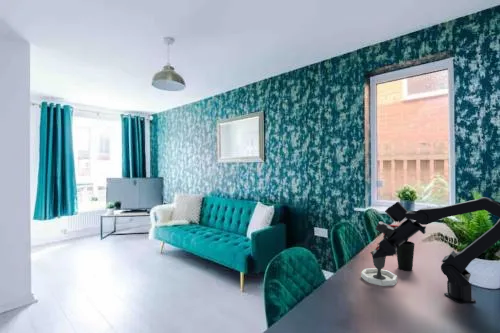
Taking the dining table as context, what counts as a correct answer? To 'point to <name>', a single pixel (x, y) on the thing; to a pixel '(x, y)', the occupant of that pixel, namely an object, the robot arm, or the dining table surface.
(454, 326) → the dining table surface
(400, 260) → the cup
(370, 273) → the dish
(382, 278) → the sundae
